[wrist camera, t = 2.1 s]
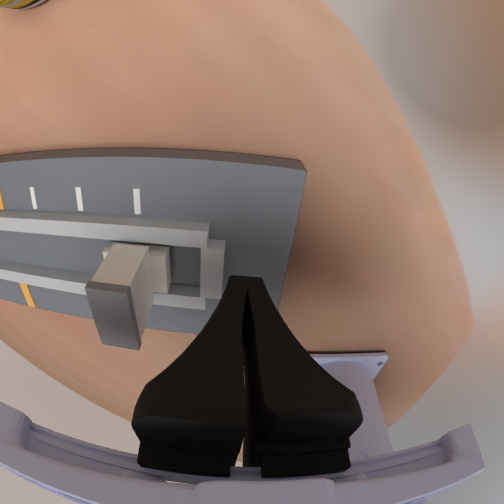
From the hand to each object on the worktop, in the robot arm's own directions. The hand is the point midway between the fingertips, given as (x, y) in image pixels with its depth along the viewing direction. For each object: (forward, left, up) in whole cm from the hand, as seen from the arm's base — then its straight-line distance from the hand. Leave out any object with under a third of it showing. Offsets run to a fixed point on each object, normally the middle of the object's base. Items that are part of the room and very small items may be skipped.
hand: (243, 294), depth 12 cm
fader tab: (0, +5, -2) cm, 5 cm away
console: (0, +9, -4) cm, 10 cm away
